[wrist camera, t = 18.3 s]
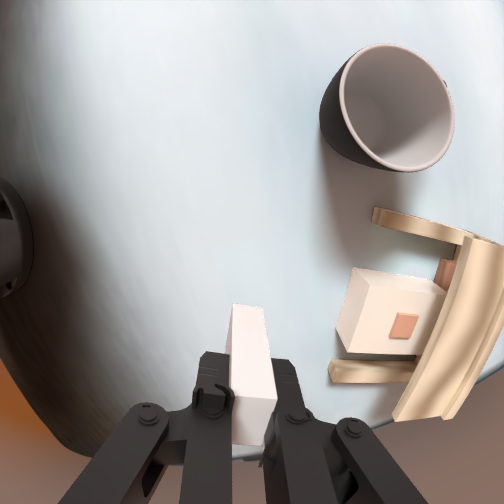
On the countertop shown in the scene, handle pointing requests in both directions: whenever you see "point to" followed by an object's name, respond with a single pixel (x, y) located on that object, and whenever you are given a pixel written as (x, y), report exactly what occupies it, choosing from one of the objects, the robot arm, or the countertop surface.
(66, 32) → the countertop surface
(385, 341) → the cream white block
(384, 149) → the mug
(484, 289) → the shelf
